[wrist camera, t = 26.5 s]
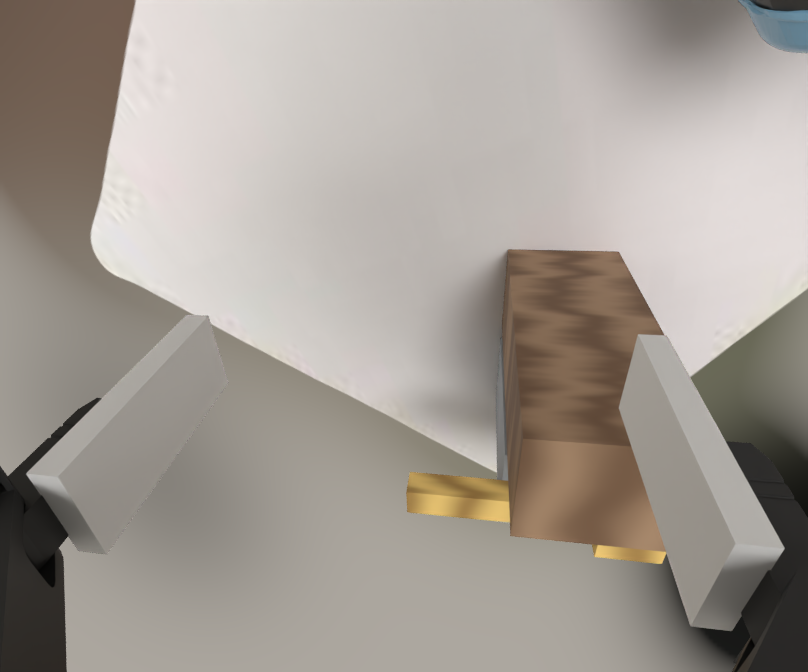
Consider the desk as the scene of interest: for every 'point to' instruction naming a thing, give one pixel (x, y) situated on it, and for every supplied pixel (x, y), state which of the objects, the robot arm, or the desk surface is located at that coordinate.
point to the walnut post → (573, 399)
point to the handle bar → (488, 506)
